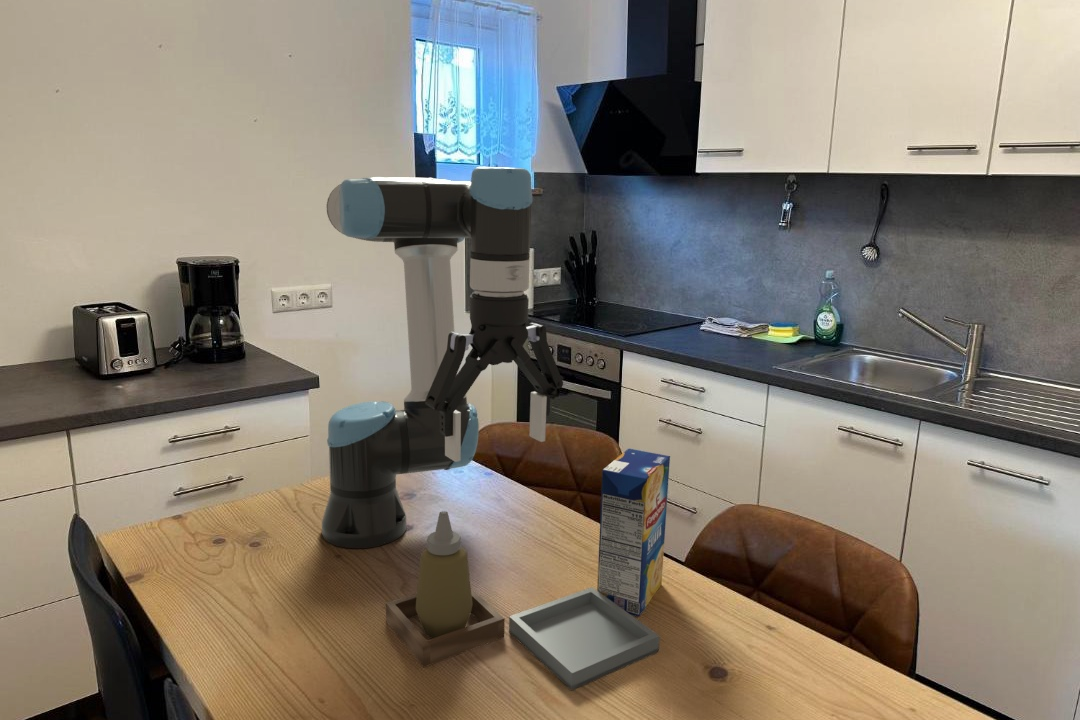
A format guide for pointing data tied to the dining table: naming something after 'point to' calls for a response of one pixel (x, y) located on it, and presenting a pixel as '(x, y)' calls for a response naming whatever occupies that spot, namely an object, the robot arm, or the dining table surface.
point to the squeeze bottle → (443, 582)
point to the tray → (583, 637)
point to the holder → (448, 643)
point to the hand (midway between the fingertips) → (496, 448)
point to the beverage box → (633, 528)
